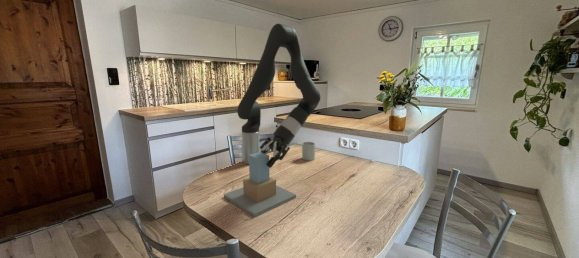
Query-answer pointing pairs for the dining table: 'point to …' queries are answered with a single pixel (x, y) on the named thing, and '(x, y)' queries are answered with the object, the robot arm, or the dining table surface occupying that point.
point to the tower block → (259, 167)
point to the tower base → (259, 205)
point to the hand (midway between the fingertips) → (262, 163)
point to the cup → (308, 151)
